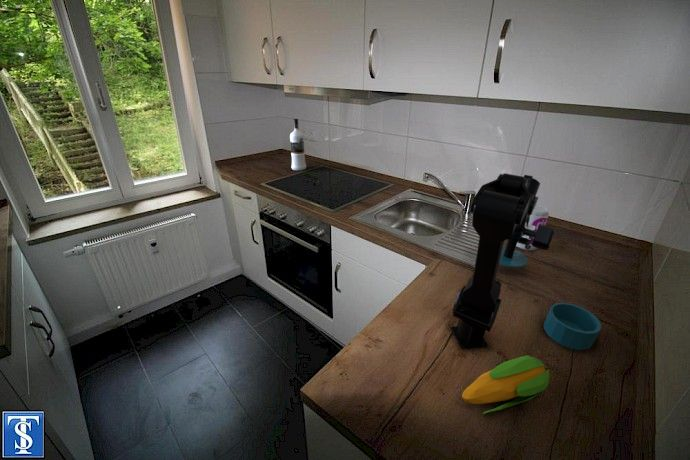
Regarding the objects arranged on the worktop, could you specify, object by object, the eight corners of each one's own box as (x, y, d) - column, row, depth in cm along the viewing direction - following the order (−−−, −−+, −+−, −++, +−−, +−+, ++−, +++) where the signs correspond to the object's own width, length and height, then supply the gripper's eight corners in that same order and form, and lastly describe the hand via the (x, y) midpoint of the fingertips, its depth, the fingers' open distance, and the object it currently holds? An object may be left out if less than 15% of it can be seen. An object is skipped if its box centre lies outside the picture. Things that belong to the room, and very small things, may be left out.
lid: (534, 268, 95) (545, 239, 90) (499, 270, 94) (508, 240, 89) (513, 249, 105) (522, 221, 100) (481, 250, 103) (488, 223, 99)
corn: (566, 368, 59) (482, 402, 53) (556, 396, 63) (475, 431, 56) (533, 341, 66) (454, 369, 60) (525, 368, 69) (449, 397, 63)
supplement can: (542, 250, 112) (556, 212, 105) (521, 252, 111) (533, 214, 104) (527, 239, 119) (538, 203, 112) (507, 241, 118) (518, 204, 111)
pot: (603, 348, 73) (612, 331, 71) (562, 351, 72) (570, 334, 70) (571, 317, 82) (578, 301, 80) (534, 320, 81) (541, 303, 79)
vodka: (300, 165, 202) (297, 117, 188) (309, 169, 196) (306, 118, 182) (288, 168, 197) (284, 118, 183) (296, 172, 191) (293, 120, 177)
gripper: (565, 201, 80) (556, 225, 93) (489, 186, 90) (491, 209, 103) (551, 240, 79) (544, 258, 91) (475, 220, 88) (479, 239, 101)
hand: (513, 239), depth 97 cm, fingers closed on lid, 2 cm apart
